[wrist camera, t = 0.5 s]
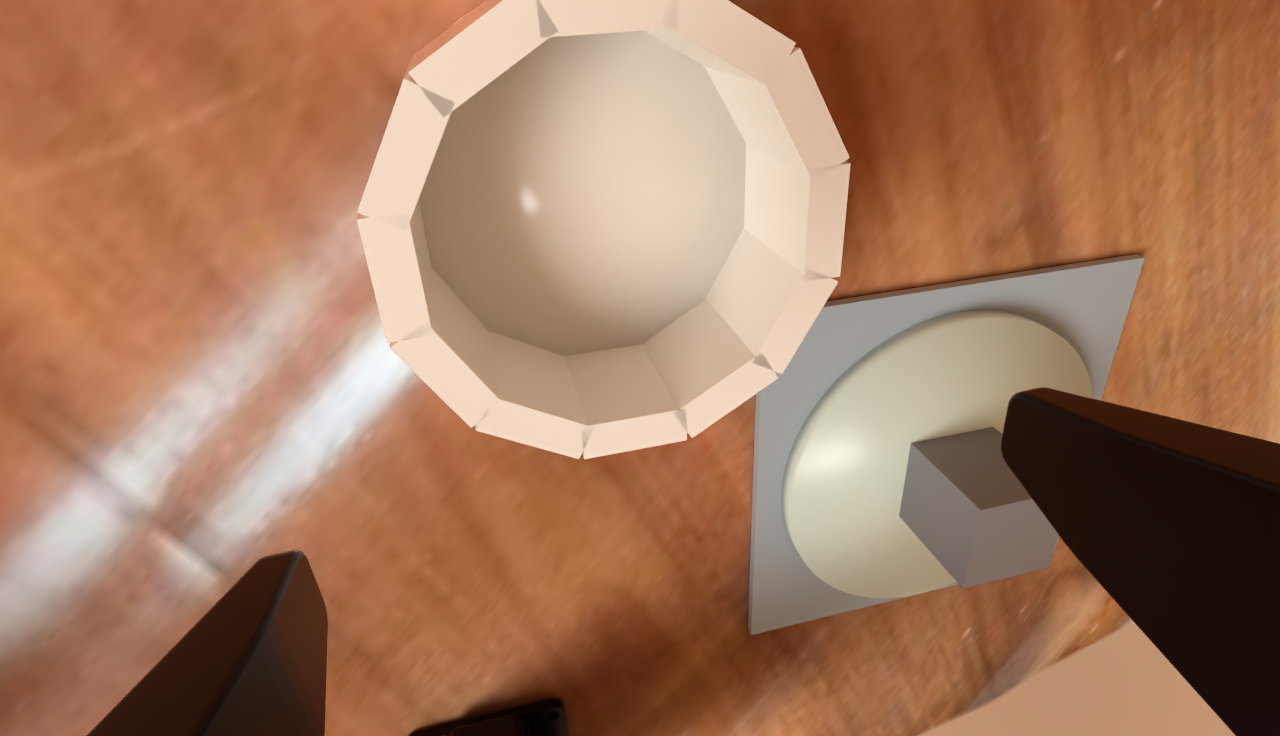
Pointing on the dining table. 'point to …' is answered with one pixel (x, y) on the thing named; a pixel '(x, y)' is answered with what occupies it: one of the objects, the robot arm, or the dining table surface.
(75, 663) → the dining table surface
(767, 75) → the bowl
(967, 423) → the cover
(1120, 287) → the mat
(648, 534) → the dining table surface
